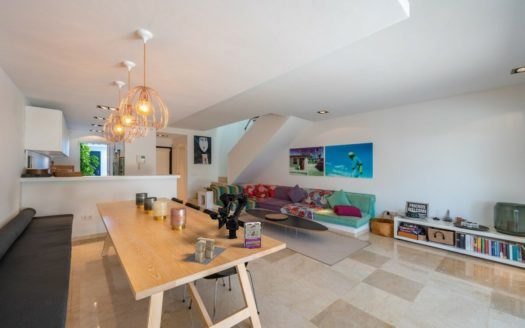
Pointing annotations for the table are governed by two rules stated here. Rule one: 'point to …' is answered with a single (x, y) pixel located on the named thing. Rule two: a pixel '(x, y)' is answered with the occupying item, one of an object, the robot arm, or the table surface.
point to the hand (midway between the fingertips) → (219, 228)
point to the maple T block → (204, 249)
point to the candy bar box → (252, 235)
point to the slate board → (207, 260)
